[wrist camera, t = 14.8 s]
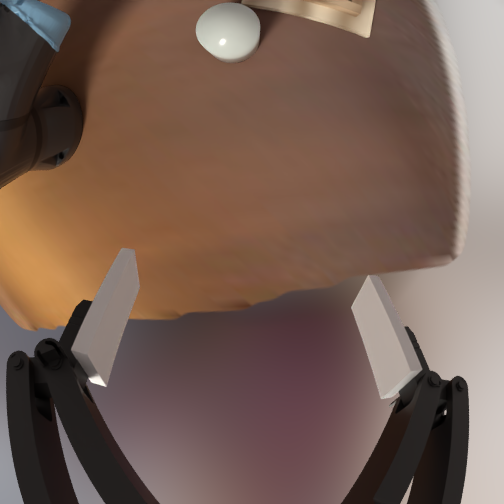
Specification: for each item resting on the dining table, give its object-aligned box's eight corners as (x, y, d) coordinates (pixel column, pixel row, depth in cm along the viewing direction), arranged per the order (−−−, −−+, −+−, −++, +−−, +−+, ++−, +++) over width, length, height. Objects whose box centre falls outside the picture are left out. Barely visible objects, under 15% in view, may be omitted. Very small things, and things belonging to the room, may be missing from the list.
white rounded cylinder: (203, 60, 30) (190, 52, 23) (213, 18, 26) (202, 0, 19) (254, 66, 30) (253, 58, 23) (263, 23, 26) (265, 6, 20)
